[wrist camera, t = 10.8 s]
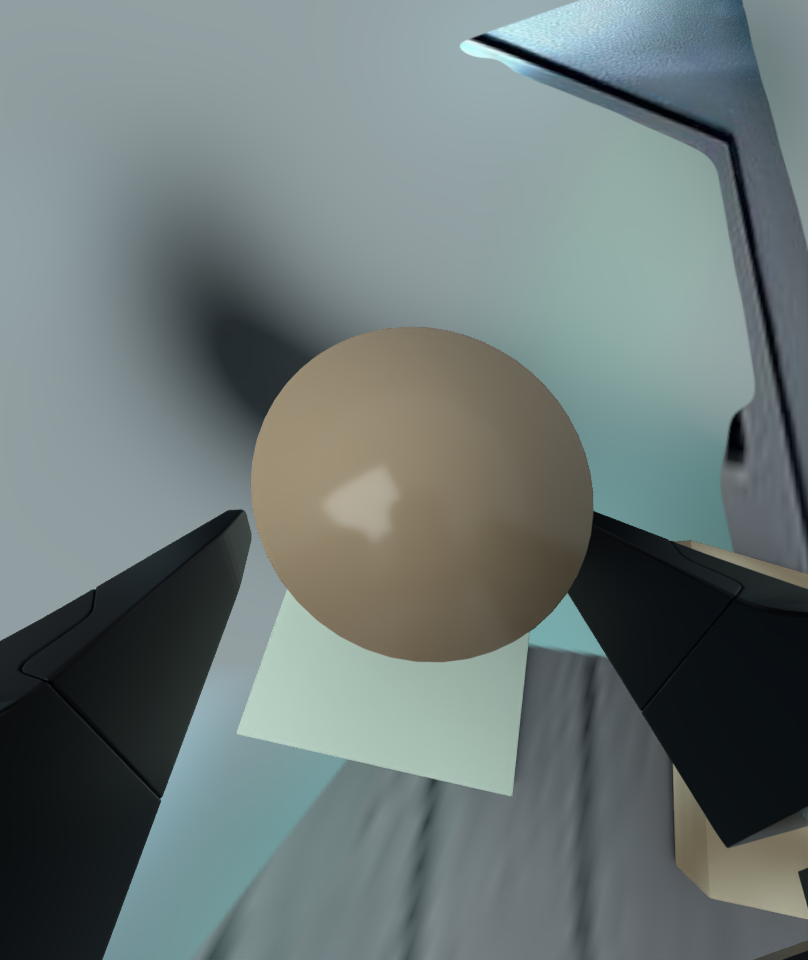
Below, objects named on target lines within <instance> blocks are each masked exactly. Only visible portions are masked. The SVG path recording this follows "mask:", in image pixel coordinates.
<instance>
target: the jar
mask: <svg viewBox="0 0 808 960" xmlns="http://www.w3.org/2000/svg"><path fill="white" fill-rule="evenodd" d="M251 493H252V506H253V513H254V517H255V521H256V526H257V530H258V534H259V536H260V539H261V542H262V544H263V547H264V549H265V552H266V555H267V557H268V559H269V561H270V563H271V564H272V566H273V568H274V570H275V571H276V573H277V575H278V576H279V578H280V580H281V581H282V582H283V584H284V585H285V587H286V588H287V589H288V590H289V592H290V593H291V594H292V596H293V597H294V598H295V599H296V601H297V602H298V603H299V604H300V605H301V606H302V607H303V608H304V609H306V610H307V611H308V612H309V613H310V614H311V615H312V616H313V617H314V618H315V619H316V620H317V621H318V622H320V623H321V624H323V625H324V626H326V627H327V628H328V629H330V630H331V631H333V632H334V633H335V634H337V635H338V636H340V637H342V638H344V639H346V640H348V641H350V642H352V643H354V644H356V645H358V646H360V647H362V648H364V649H366V650H369V651H372V652H375V653H379V654H382V655H385V656H388V657H391V658H397V659H403V660H409V661H415V662H449V661H457V660H464V659H470V658H473V657H477V656H480V655H484V654H487V653H490V652H493V651H496V650H498V649H500V648H502V647H504V646H506V645H508V644H510V643H512V642H515V641H516V640H518V639H519V638H521V637H522V636H524V635H525V634H527V633H528V632H530V631H531V630H532V629H534V628H535V627H536V626H537V625H538V624H540V623H541V622H542V621H543V620H544V619H545V618H546V617H547V616H548V615H549V614H550V613H551V612H553V610H554V609H555V608H556V607H557V605H558V604H559V603H560V602H561V600H562V599H563V598H564V596H565V595H566V594H567V592H568V591H569V589H570V587H571V585H572V584H573V582H574V580H575V579H576V577H577V575H578V573H579V570H580V568H581V565H582V563H583V560H584V558H585V555H586V552H587V548H588V544H589V540H590V536H591V529H592V520H593V489H592V482H591V475H590V470H589V466H588V463H587V458H586V455H585V452H584V449H583V447H582V444H581V441H580V439H579V436H578V434H577V432H576V430H575V429H574V426H573V424H572V422H571V421H570V418H569V417H568V415H567V414H566V412H565V411H564V409H563V408H562V406H561V405H560V403H559V402H558V400H557V399H556V398H555V397H554V396H553V395H552V393H551V392H550V391H549V390H548V389H547V387H546V386H545V385H544V384H543V383H542V382H541V381H540V380H539V379H538V378H537V377H536V376H535V375H534V374H532V372H530V371H529V370H528V369H526V368H525V367H524V366H523V365H521V364H520V363H519V362H518V361H516V360H515V359H513V358H511V357H510V356H508V355H507V354H505V353H504V352H502V351H500V350H498V349H496V348H494V347H492V346H490V345H488V344H486V343H484V342H482V341H479V340H477V339H474V338H471V337H469V336H466V335H463V334H458V333H455V332H451V331H447V330H441V329H434V328H426V327H399V328H388V329H382V330H377V331H371V332H368V333H365V334H362V335H358V336H355V337H352V338H350V339H348V340H345V341H343V342H341V343H338V344H336V345H334V346H332V347H331V348H329V349H327V350H326V351H324V352H323V353H321V354H319V355H318V356H316V357H315V358H314V359H312V360H311V361H310V362H309V363H307V364H306V365H305V366H304V367H303V368H301V369H300V370H299V371H298V373H296V374H295V375H294V376H293V378H292V379H291V380H290V381H289V382H288V383H287V384H286V385H285V387H284V388H283V389H282V391H281V392H280V394H279V395H278V396H277V398H276V399H275V401H274V403H273V405H272V406H271V408H270V410H269V412H268V414H267V415H266V417H265V419H264V422H263V425H262V427H261V430H260V433H259V436H258V438H257V442H256V447H255V452H254V456H253V461H252V476H251Z"/></svg>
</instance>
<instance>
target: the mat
mask: <svg viewBox="0 0 808 960" xmlns="http://www.w3.org/2000/svg"><path fill="white" fill-rule="evenodd" d="M528 642H529V632H528V633H527V634H525V635H524V636H522V637H521V638H519V639H518V640H516V641H515V642H512V643H510V644H508V645H506V646H504V647H502V648H500V649H498V650H496V651H493V652H490V653H487V654H484V655H480V656H477V657H473V658H470V659H464V660H457V661H449V662H415V661H409V660H403V659H397V658H391V657H388V656H385V655H382V654H379V653H375V652H372V651H369V650H366V649H364V648H362V647H360V646H358V645H356V644H354V643H352V642H350V641H348V640H346V639H344V638H342V637H340V636H338V635H337V634H335V633H334V632H333V631H331V630H330V629H328V628H327V627H326V626H324V625H323V624H321V623H320V622H318V621H317V620H316V619H315V618H314V617H313V616H312V615H311V614H310V613H309V612H308V611H307V610H306V609H304V608H303V607H302V606H301V605H300V604H299V603H298V602H297V601H296V599H295V598H294V597H293V596H292V594H291V593H290V592H289V590H288V589H287V591H286V594H285V597H284V600H283V603H282V606H281V608H280V611H279V614H278V617H277V620H276V622H275V625H274V628H273V631H272V634H271V637H270V639H269V643H268V645H267V648H266V651H265V654H264V656H263V659H262V662H261V665H260V668H259V671H258V673H257V676H256V679H255V682H254V685H253V688H252V690H251V693H250V696H249V699H248V702H247V705H246V708H245V711H244V713H243V716H242V719H241V722H240V725H239V728H238V731H237V734H239V735H244V736H248V737H253V738H257V739H261V740H266V741H270V742H275V743H279V744H284V745H288V746H292V747H296V748H301V749H305V750H310V751H314V752H319V753H323V754H327V755H332V756H336V757H341V758H345V759H349V760H353V761H358V762H362V763H367V764H371V765H375V766H380V767H384V768H389V769H393V770H397V771H402V772H406V773H410V774H415V775H419V776H424V777H428V778H432V779H437V780H441V781H446V782H450V783H454V784H459V785H463V786H468V787H472V788H476V789H481V790H485V791H489V792H494V793H498V794H503V795H507V796H511V797H512V793H513V783H514V774H515V764H516V755H517V746H518V736H519V727H520V717H521V708H522V698H523V689H524V680H525V670H526V661H527V651H528Z"/></svg>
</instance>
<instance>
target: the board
mask: <svg viewBox="0 0 808 960" xmlns="http://www.w3.org/2000/svg"><path fill="white" fill-rule="evenodd" d="M676 543H679V544H681V545H684V546H686V547H689V548H692V549H695V550H697V551H700V552H703V553H705V554H708V555H711V556H714V557H716V558H719V559H722V560H725V561H728V562H731V563H733V564H736V565H739V566H742V567H745V568H748V569H751V570H754V571H757V572H760V573H762V574H765V575H768V576H771V577H774V578H777V579H780V580H783V581H786V582H789V583H792V584H795V585H797V586H800V587H803V588H806V589H808V574H806V573H802V572H799V571H795V570H792V569H789V568H785V567H782V566H778V565H775V564H771V563H768V562H764V561H761V560H757V559H754V558H750V557H747V556H743V555H740V554H736V553H733V552H730V551H726V550H723V549H719V548H716V547H712V546H709V545H705V544H702V543H698V542H695V541H691V540H690V541H678V542H676ZM673 786H674V822H675V858H676V866H677V867H678V868H679V869H680V870H681V871H682V872H683V873H684V874H685V875H686V876H687V877H688V878H689V879H690V880H691V881H692V882H694V883H695V884H696V885H697V886H698V887H699V888H700V889H701V890H702V891H703V892H704V893H705V894H706V895H707V896H708V897H709V898H712V899H716V900H721V901H725V902H730V903H735V904H739V905H744V906H749V907H753V908H758V909H762V910H767V911H772V912H776V913H781V914H785V915H790V916H795V917H799V918H804V919H808V907H807V903H806V900H805V896H804V892H803V889H802V885H801V882H800V878H799V874H798V871H801V870H803V869H806V868H808V826H807V827H803V828H800V829H796V830H793V831H789V832H785V833H782V834H778V835H775V836H771V837H767V838H764V839H760V840H757V841H753V842H749V843H746V844H742V845H739V846H735V847H731V848H727V847H726V846H725V845H724V844H723V842H722V841H721V840H720V838H719V837H718V835H717V834H716V832H715V831H714V829H713V827H712V826H711V824H710V823H709V821H708V819H707V818H706V816H705V814H704V813H703V811H702V810H701V808H700V806H699V805H698V803H697V802H696V800H695V798H694V797H693V795H692V793H691V792H690V790H689V789H688V787H687V785H686V784H685V782H684V781H683V779H682V777H681V776H680V774H679V772H678V771H677V769H676V768H675V766H674V764H673Z"/></svg>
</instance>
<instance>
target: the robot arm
mask: <svg viewBox="0 0 808 960" xmlns="http://www.w3.org/2000/svg"><path fill="white" fill-rule="evenodd" d="M250 543H251V530H250V526H249V522H248V519H247V515H246V513H245V511H244V510H228V511H226V512H224V513H223V514H221V515H219V516H218V517H216V518H214V519H212V520H211V521H209V522H207V523H205V524H204V525H202V526H200V527H199V528H197V529H195V530H193V531H192V532H190V533H188V534H187V535H185V536H183V537H181V538H180V539H178V540H176V541H175V542H173V543H171V544H169V545H168V546H166V547H164V548H163V549H161V550H159V551H157V552H156V553H154V554H152V555H151V556H149V557H147V558H146V559H144V560H142V561H140V562H139V563H137V564H135V565H134V566H132V567H130V568H128V569H127V570H125V571H123V572H122V573H120V574H118V575H116V576H115V577H113V578H111V579H110V580H108V581H106V582H104V583H103V584H101V585H99V586H98V587H97V588H96V590H95V589H93V590H91V591H89V592H87V593H86V594H84V595H82V596H80V597H79V598H77V599H75V600H74V601H72V602H70V603H68V604H67V605H65V606H63V607H62V608H60V609H58V610H56V611H54V612H52V613H51V614H49V615H47V616H45V617H44V618H42V619H40V620H38V621H36V622H35V623H33V624H31V625H29V626H27V627H25V628H24V629H22V630H20V631H18V632H16V633H14V634H12V635H10V636H9V637H7V638H5V639H3V640H1V641H0V960H102V959H103V956H104V954H105V951H106V948H107V946H108V943H109V940H110V938H111V935H112V932H113V929H114V927H115V924H116V921H117V918H118V916H119V913H120V911H121V908H122V905H123V902H124V900H125V897H126V894H127V892H128V889H129V886H130V884H131V881H132V878H133V876H134V873H135V870H136V867H137V865H138V862H139V859H140V856H141V854H142V851H143V848H144V845H145V843H146V841H147V838H148V835H149V832H150V830H151V827H152V824H153V822H154V819H155V816H156V814H157V811H158V808H159V805H160V803H161V800H160V798H162V796H163V794H164V791H165V788H166V786H167V783H168V780H169V777H170V775H171V772H172V770H173V767H174V764H175V762H176V758H177V756H178V753H179V751H180V748H181V745H182V743H183V740H184V737H185V734H186V732H187V729H188V726H189V724H190V721H191V718H192V716H193V713H194V710H195V708H196V705H197V702H198V699H199V697H200V694H201V691H202V689H203V686H204V683H205V680H206V678H207V675H208V672H209V669H210V667H211V664H212V662H213V659H214V656H215V654H216V651H217V648H218V645H219V643H220V640H221V637H222V635H223V632H224V629H225V627H226V624H227V621H228V619H229V616H230V613H231V610H232V607H233V605H234V602H235V600H236V597H237V594H238V591H239V588H240V584H241V581H242V577H243V572H244V568H245V564H246V560H247V556H248V552H249V547H250ZM567 593H568V594H569V596H570V597H571V599H572V601H573V602H574V604H575V605H576V607H577V609H578V610H579V612H580V613H581V615H582V617H583V618H584V620H585V622H586V623H587V625H588V626H589V628H590V630H591V631H592V633H593V635H594V636H595V638H596V639H597V641H598V643H599V644H600V646H601V648H602V649H603V651H604V652H605V654H606V656H607V657H608V659H609V660H610V662H611V664H612V665H613V667H614V669H615V670H616V672H617V673H618V675H619V677H620V678H621V680H622V681H623V683H624V685H625V686H626V688H627V690H628V691H629V693H630V694H631V696H632V698H633V699H634V701H635V702H636V704H637V706H638V707H639V709H640V710H642V714H643V716H644V717H645V719H646V721H647V722H648V724H649V726H650V727H651V729H652V730H653V732H654V734H655V735H656V737H657V738H658V740H659V742H660V743H661V745H662V747H663V748H664V750H665V751H666V753H667V755H668V756H669V758H670V759H671V761H672V763H673V764H674V766H675V768H676V769H677V771H678V772H679V774H680V776H681V777H682V779H683V781H684V782H685V784H686V785H687V787H688V789H689V790H690V792H691V793H692V795H693V797H694V798H695V800H696V802H697V803H698V805H699V806H700V808H701V810H702V811H703V813H704V814H705V816H706V818H707V819H708V821H709V823H710V824H711V826H712V827H713V829H714V831H715V832H716V834H717V835H718V837H719V838H720V840H721V841H722V842H723V844H724V845H725V846H726V847H727V848H731V847H735V846H739V845H742V844H746V843H749V842H753V841H757V840H760V839H764V838H767V837H771V836H775V835H778V834H782V833H785V832H789V831H793V830H796V829H800V828H803V827H807V826H808V589H806V588H803V587H800V586H797V585H795V584H792V583H789V582H786V581H783V580H780V579H777V578H774V577H771V576H768V575H765V574H762V573H760V572H757V571H754V570H751V569H748V568H745V567H742V566H739V565H736V564H733V563H731V562H728V561H725V560H722V559H719V558H716V557H714V556H711V555H708V554H705V553H703V552H700V551H697V550H695V549H692V548H689V547H686V546H684V545H681V544H679V543H676V542H673V541H669V540H668V539H665V538H663V537H660V536H657V535H655V534H652V533H649V532H647V531H644V530H642V529H639V528H636V527H634V526H631V525H629V524H626V523H623V522H621V521H618V520H616V519H613V518H610V517H608V516H605V515H602V514H600V513H597V512H595V511H593V520H592V529H591V536H590V540H589V544H588V548H587V552H586V555H585V558H584V560H583V563H582V565H581V568H580V570H579V573H578V575H577V577H576V579H575V580H574V582H573V584H572V585H571V587H570V589H569V591H568V592H567ZM798 874H799V878H800V882H801V885H802V889H803V892H804V896H805V900H806V903H807V907H808V868H806V869H803V870H801V871H798ZM754 960H808V941H805V942H802V943H799V944H797V945H794V946H791V947H788V948H785V949H782V950H780V951H777V952H774V953H771V954H768V955H765V956H763V957H760V958H757V959H754Z"/></svg>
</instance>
